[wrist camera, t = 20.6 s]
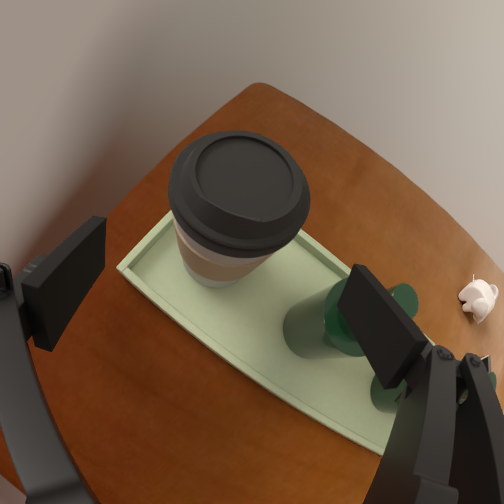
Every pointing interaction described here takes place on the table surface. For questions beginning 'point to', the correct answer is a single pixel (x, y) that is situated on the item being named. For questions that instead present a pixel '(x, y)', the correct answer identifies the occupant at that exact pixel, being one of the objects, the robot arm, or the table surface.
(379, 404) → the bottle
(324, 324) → the bottle mid
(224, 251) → the coffee cup
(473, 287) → the elephant figurine
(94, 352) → the table surface
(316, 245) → the tray
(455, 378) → the robot arm
